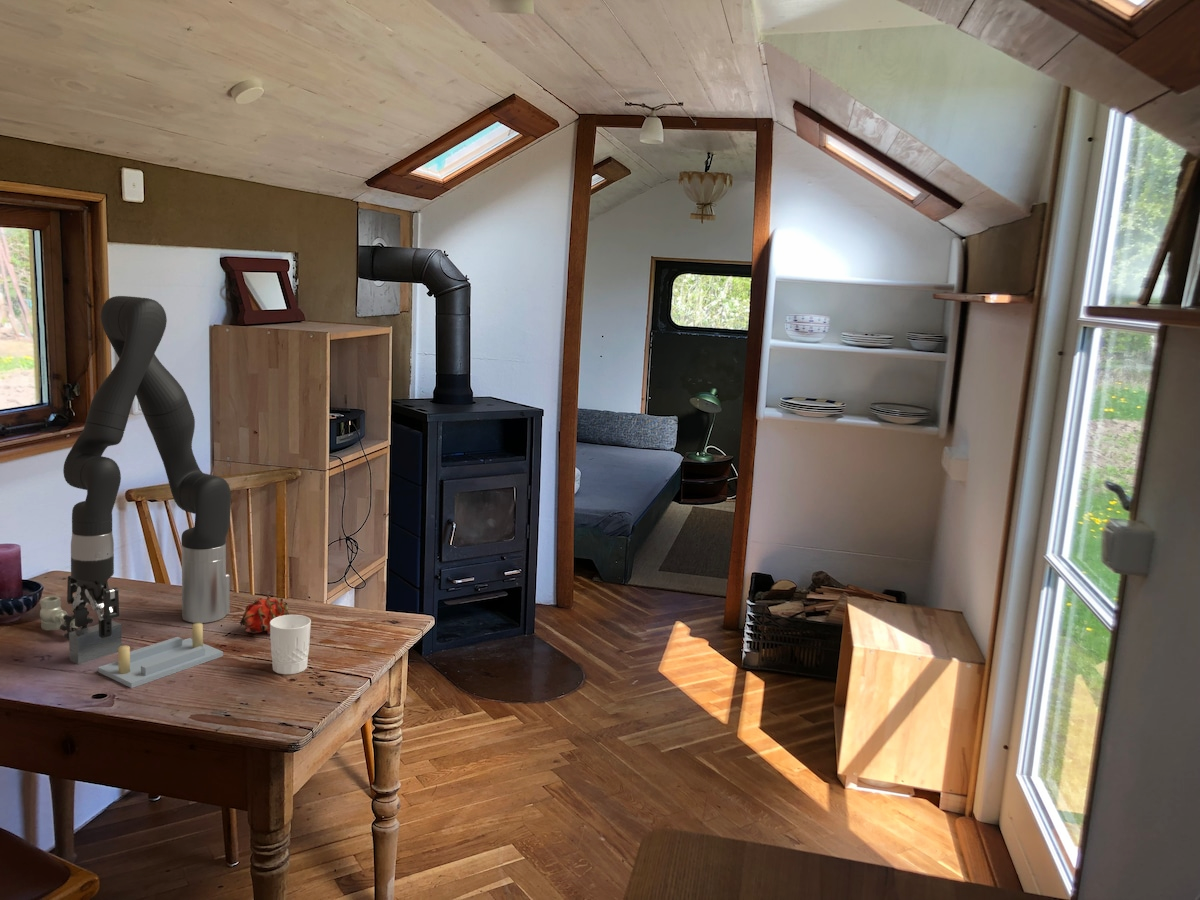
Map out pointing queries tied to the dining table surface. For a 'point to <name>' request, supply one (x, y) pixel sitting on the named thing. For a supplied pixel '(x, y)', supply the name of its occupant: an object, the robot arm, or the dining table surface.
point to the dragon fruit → (263, 614)
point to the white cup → (290, 643)
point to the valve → (57, 616)
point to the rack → (160, 659)
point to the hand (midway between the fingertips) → (92, 631)
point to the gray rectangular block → (93, 643)
